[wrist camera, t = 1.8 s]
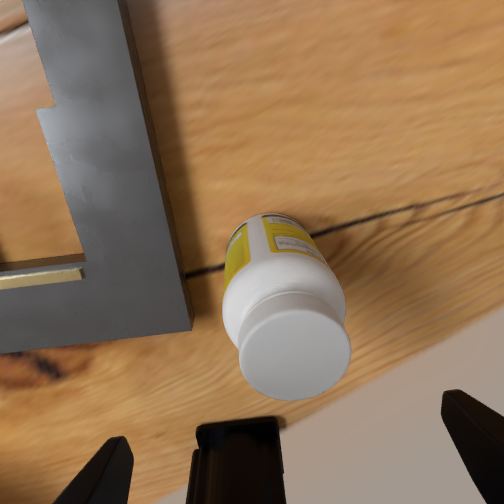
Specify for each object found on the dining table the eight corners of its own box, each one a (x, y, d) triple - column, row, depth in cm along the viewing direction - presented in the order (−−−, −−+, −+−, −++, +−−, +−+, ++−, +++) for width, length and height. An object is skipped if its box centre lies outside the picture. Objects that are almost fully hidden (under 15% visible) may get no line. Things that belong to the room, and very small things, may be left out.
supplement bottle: (243, 301, 22) (247, 432, 12) (213, 228, 20) (191, 320, 10) (321, 275, 21) (384, 392, 12) (298, 198, 19) (353, 267, 10)
